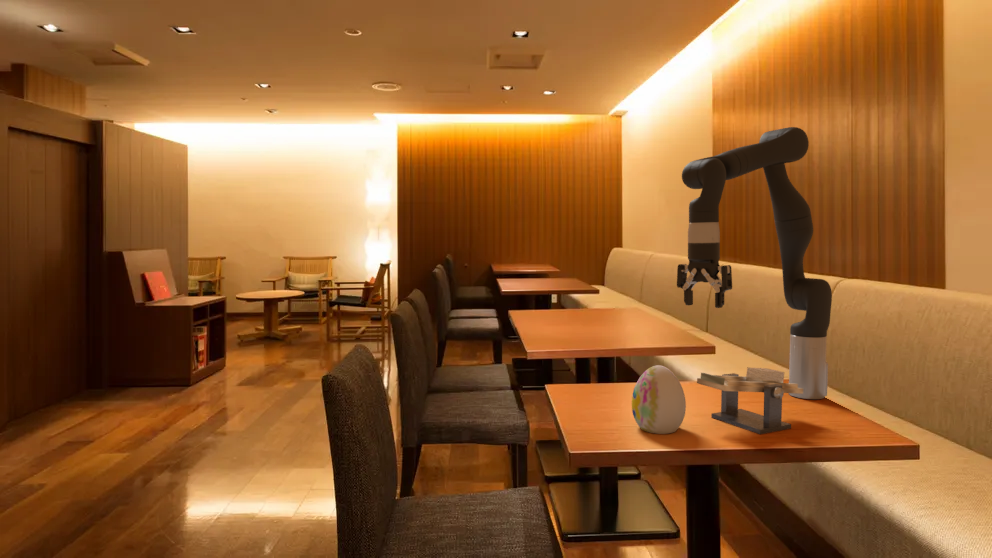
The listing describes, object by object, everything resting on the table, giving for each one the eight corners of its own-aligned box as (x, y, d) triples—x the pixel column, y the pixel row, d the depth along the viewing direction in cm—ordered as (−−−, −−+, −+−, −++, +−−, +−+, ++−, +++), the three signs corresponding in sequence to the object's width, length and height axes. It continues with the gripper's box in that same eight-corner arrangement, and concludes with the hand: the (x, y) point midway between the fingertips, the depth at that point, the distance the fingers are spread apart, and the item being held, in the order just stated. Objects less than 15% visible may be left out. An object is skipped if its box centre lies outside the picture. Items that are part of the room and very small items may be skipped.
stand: (738, 411, 161) (739, 371, 160) (793, 429, 146) (795, 384, 145) (709, 416, 157) (709, 375, 156) (763, 435, 142) (764, 389, 141)
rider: (765, 382, 157) (767, 368, 157) (782, 386, 152) (784, 372, 152) (745, 381, 154) (747, 367, 154) (762, 385, 149) (763, 371, 149)
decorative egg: (627, 421, 153) (627, 360, 152) (677, 421, 153) (678, 360, 152) (636, 436, 141) (637, 371, 140) (691, 437, 141) (692, 371, 140)
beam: (770, 386, 161) (771, 374, 161) (806, 395, 152) (808, 383, 152) (693, 383, 150) (694, 371, 150) (727, 393, 140) (729, 380, 140)
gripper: (738, 240, 152) (738, 307, 153) (688, 241, 163) (688, 303, 164) (720, 241, 147) (720, 310, 148) (670, 241, 158) (670, 305, 160)
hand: (703, 306), depth 156 cm, fingers open, 8 cm apart
